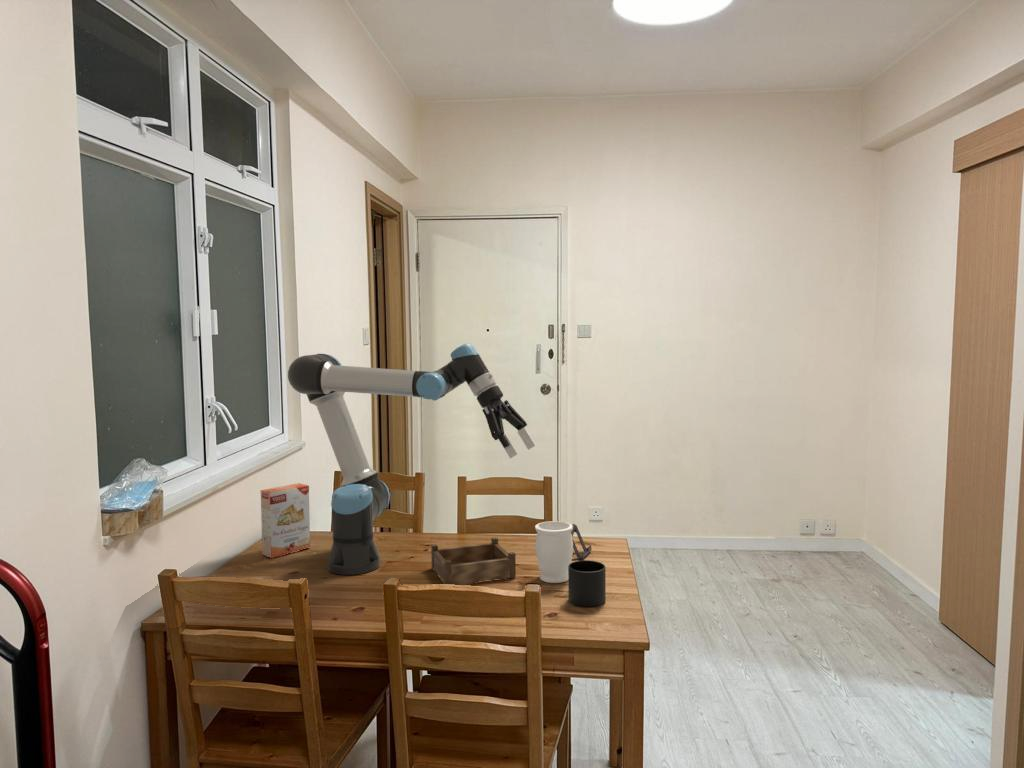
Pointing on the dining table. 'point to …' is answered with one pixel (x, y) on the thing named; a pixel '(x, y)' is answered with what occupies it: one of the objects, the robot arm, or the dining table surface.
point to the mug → (587, 583)
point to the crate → (473, 563)
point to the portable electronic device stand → (586, 550)
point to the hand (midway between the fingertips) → (523, 451)
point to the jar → (554, 550)
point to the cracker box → (285, 519)
